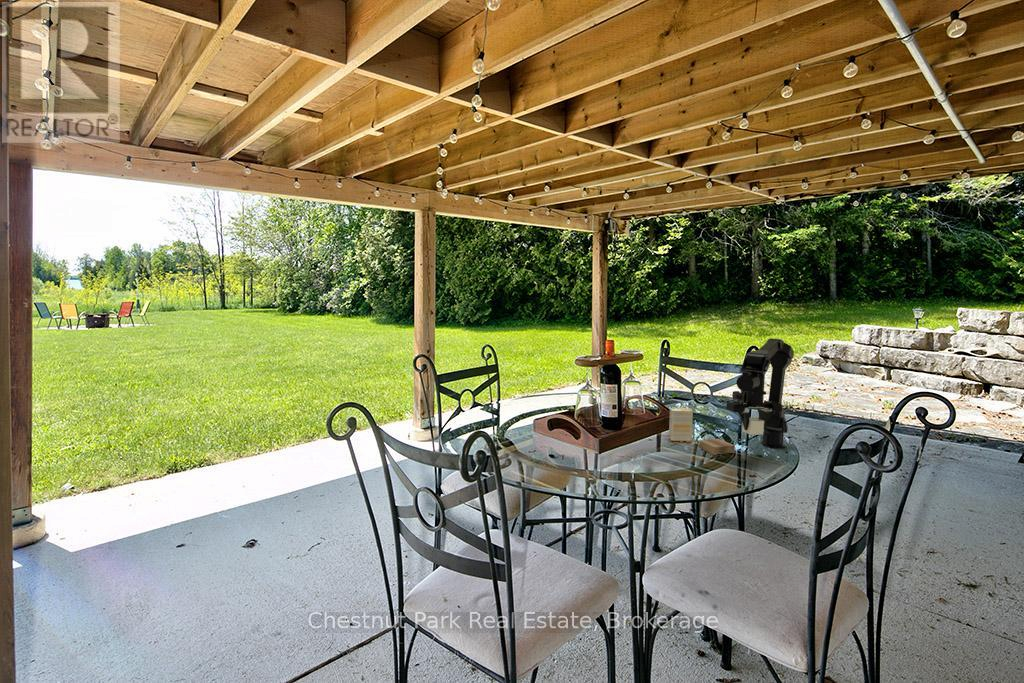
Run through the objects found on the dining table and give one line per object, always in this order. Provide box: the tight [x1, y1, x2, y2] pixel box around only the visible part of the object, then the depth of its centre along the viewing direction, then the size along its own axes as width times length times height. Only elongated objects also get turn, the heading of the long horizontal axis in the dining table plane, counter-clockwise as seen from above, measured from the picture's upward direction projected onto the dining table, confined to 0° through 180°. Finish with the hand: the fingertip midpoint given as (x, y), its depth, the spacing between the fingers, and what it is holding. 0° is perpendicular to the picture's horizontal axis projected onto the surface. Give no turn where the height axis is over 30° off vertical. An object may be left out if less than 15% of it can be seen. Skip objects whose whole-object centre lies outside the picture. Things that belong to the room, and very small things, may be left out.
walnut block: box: [698, 438, 736, 456], centre depth 195 cm, size 9×9×4 cm
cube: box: [742, 416, 764, 436], centre depth 185 cm, size 5×5×5 cm
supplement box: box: [668, 407, 694, 443], centre depth 207 cm, size 8×5×13 cm, turn 84°
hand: (752, 429), depth 185 cm, fingers closed on cube, 5 cm apart
